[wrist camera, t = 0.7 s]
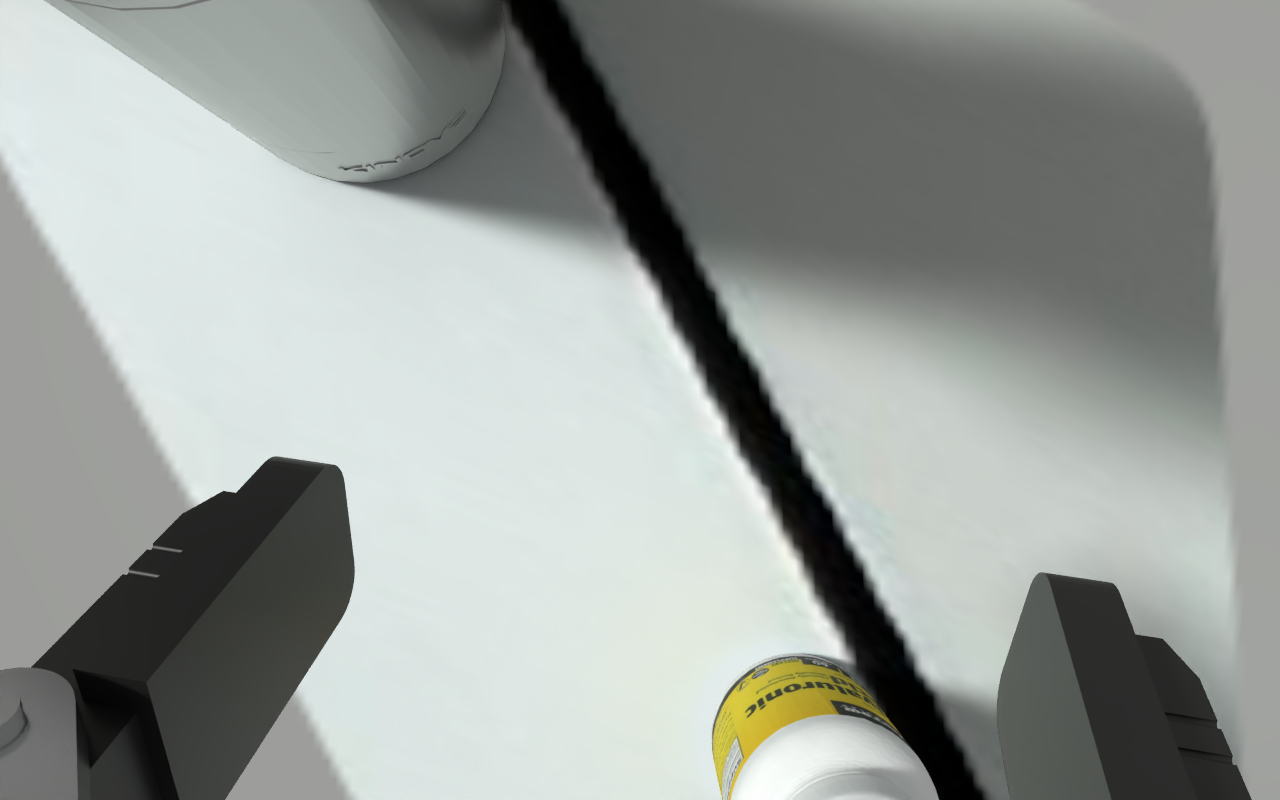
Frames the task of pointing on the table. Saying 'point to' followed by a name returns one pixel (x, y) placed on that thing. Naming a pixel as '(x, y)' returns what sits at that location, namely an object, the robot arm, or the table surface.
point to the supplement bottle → (810, 738)
